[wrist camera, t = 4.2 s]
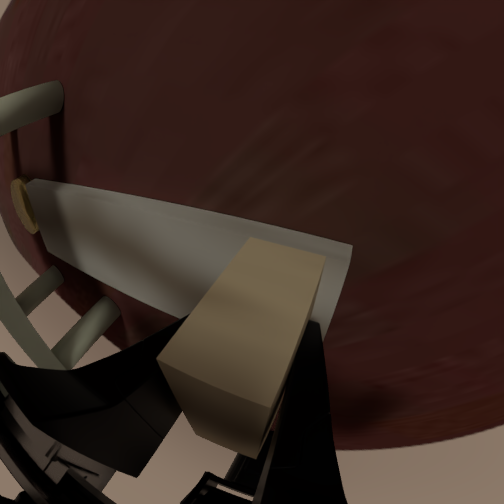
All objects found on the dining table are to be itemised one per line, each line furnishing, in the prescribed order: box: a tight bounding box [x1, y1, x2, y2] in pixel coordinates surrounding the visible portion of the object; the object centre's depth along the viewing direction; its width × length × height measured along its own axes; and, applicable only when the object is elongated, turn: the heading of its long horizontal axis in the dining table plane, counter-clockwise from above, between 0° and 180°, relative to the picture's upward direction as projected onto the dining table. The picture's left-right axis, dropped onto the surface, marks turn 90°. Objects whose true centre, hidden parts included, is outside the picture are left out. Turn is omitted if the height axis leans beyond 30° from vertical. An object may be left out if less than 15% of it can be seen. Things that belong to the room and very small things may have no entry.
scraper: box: [25, 179, 353, 459], centre depth 11 cm, size 6×21×6 cm, turn 89°
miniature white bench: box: [0, 80, 121, 370], centre depth 13 cm, size 18×11×8 cm, turn 179°
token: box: [11, 175, 39, 234], centre depth 17 cm, size 5×5×1 cm
